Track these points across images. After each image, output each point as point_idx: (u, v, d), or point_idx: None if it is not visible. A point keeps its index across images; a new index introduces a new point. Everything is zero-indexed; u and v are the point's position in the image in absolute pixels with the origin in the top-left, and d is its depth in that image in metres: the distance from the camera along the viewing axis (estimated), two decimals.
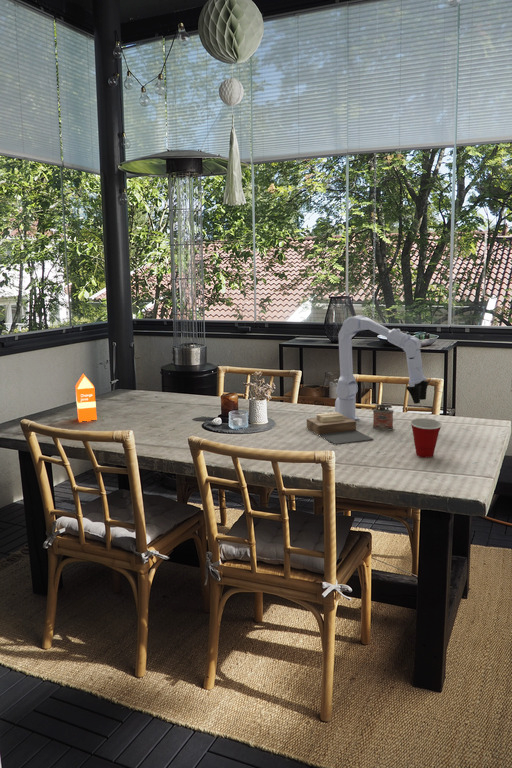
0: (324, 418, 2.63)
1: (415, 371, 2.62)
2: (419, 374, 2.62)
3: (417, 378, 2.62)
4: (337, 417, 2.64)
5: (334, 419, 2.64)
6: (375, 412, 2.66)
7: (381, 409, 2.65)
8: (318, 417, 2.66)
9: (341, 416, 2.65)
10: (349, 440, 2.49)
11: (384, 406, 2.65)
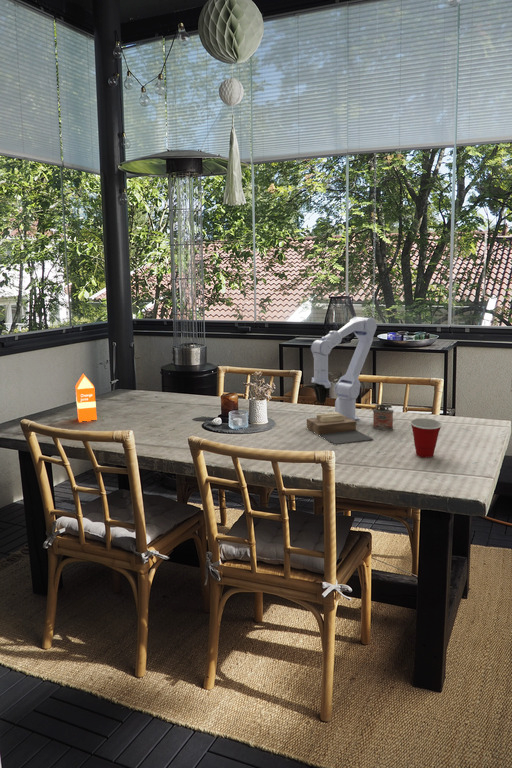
0: (324, 418, 2.63)
1: None
2: None
3: None
4: (337, 417, 2.64)
5: (334, 419, 2.64)
6: (375, 412, 2.66)
7: (381, 409, 2.65)
8: (318, 417, 2.66)
9: (341, 416, 2.65)
10: (349, 440, 2.49)
11: (384, 406, 2.65)
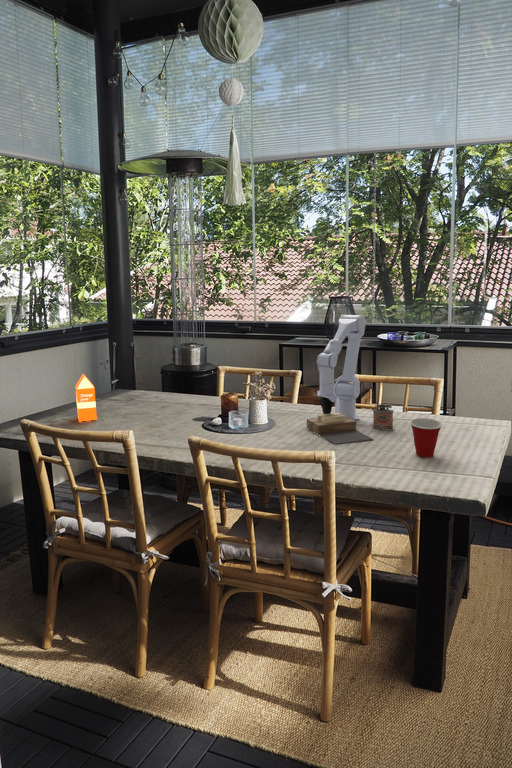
0: (325, 419, 2.62)
1: None
2: None
3: None
4: (338, 418, 2.63)
5: (335, 420, 2.63)
6: (375, 412, 2.66)
7: (381, 409, 2.65)
8: (319, 418, 2.65)
9: (342, 417, 2.64)
10: (349, 440, 2.49)
11: (384, 406, 2.65)
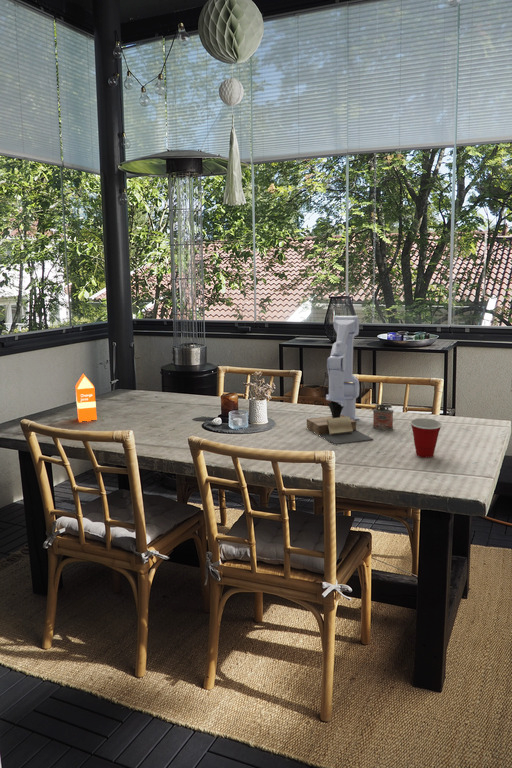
0: (333, 433, 2.56)
1: None
2: None
3: None
4: (346, 432, 2.58)
5: (342, 433, 2.58)
6: (375, 412, 2.66)
7: (381, 409, 2.65)
8: (328, 423, 2.58)
9: (350, 431, 2.58)
10: (349, 440, 2.49)
11: (384, 406, 2.65)
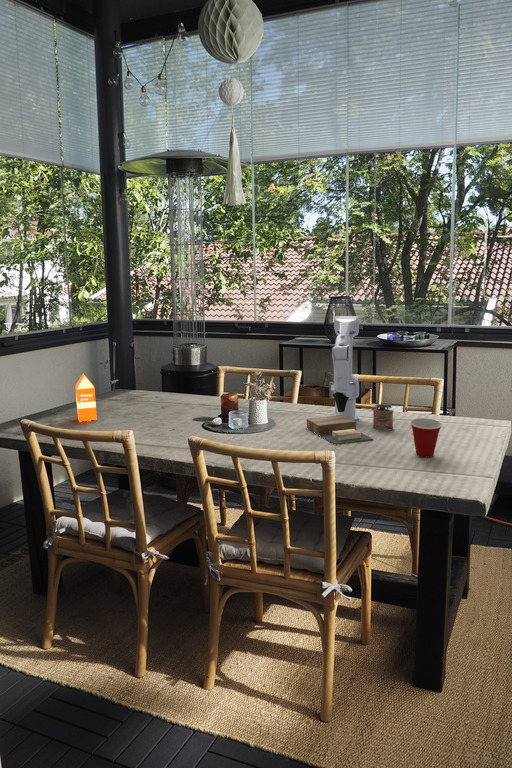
0: None
1: None
2: None
3: None
4: None
5: None
6: (375, 412, 2.66)
7: (381, 409, 2.65)
8: (337, 436, 2.51)
9: None
10: (349, 440, 2.49)
11: (384, 406, 2.65)
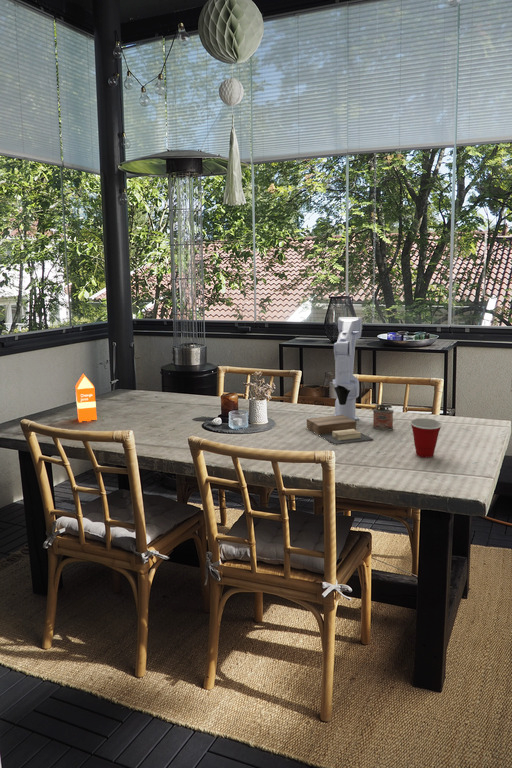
0: None
1: None
2: None
3: None
4: None
5: None
6: (375, 412, 2.66)
7: (381, 409, 2.65)
8: (337, 436, 2.51)
9: None
10: (349, 440, 2.49)
11: (384, 406, 2.65)
